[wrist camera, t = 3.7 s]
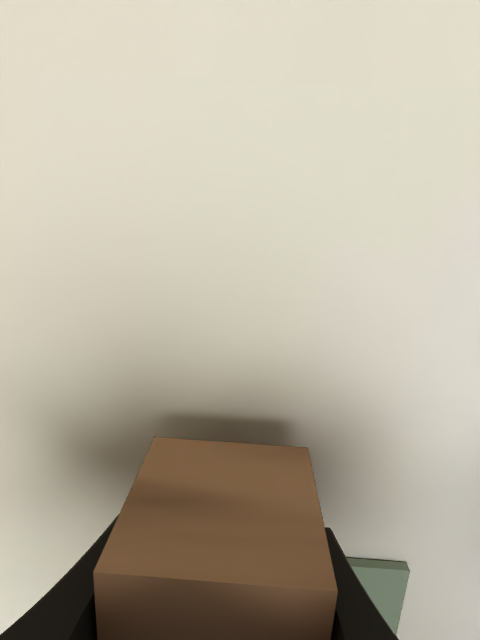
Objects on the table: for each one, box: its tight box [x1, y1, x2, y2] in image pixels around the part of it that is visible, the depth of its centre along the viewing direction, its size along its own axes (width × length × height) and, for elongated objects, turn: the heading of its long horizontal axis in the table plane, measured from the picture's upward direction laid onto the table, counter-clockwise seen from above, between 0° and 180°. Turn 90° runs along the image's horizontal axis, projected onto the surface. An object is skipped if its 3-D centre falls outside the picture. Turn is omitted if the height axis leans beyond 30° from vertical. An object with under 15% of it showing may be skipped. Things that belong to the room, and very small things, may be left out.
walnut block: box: [93, 437, 338, 640], centre depth 11 cm, size 5×5×5 cm
